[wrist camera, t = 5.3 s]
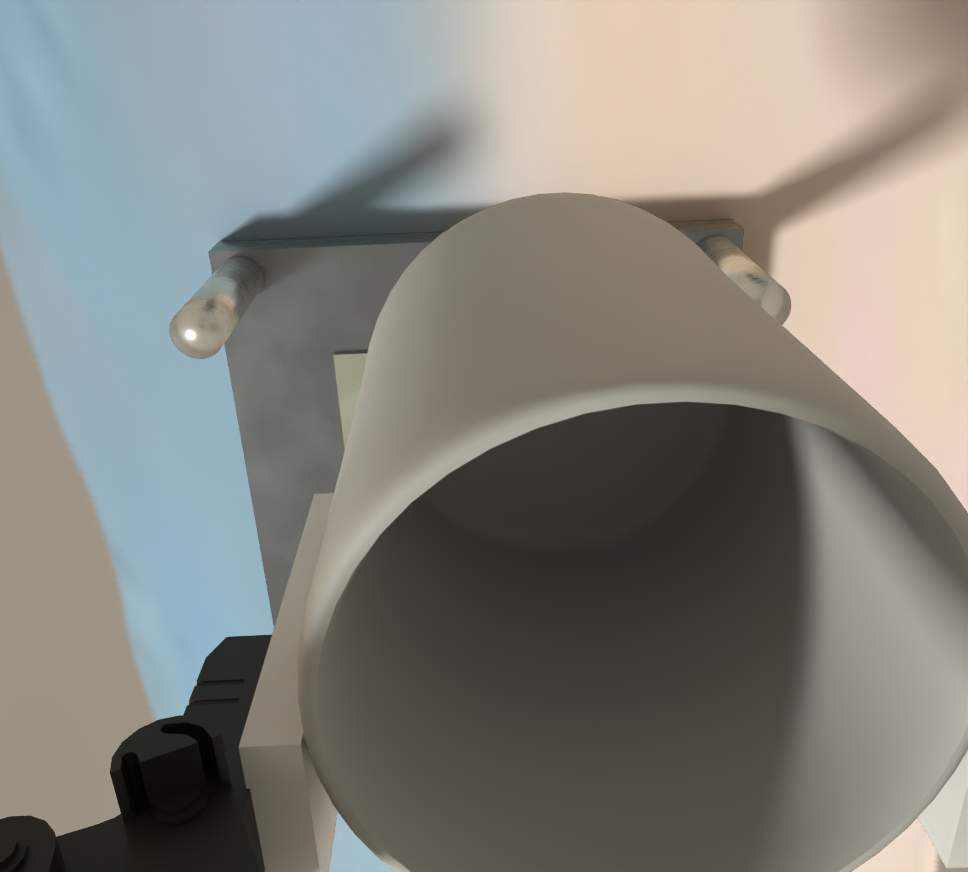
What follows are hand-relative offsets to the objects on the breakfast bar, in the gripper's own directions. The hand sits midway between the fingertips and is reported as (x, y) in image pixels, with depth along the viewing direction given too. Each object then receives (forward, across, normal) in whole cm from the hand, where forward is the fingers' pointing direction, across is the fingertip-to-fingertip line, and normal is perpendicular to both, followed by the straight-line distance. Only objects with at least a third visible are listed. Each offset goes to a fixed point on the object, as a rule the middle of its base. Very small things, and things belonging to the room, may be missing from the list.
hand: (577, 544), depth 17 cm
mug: (+5, 0, 0) cm, 5 cm away
